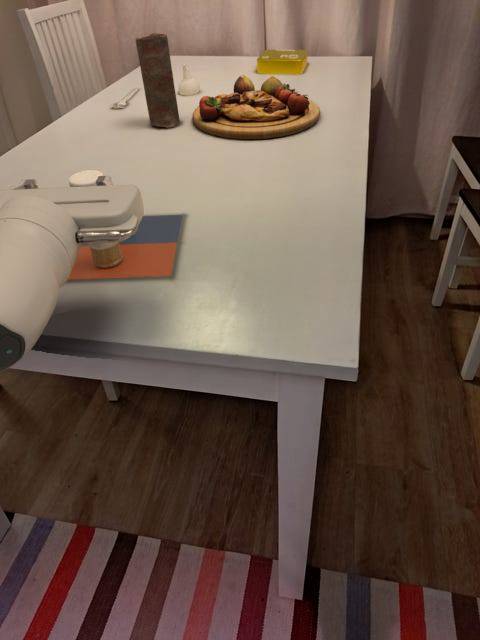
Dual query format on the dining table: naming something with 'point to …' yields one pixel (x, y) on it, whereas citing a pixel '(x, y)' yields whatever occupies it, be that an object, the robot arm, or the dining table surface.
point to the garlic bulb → (188, 84)
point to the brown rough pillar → (158, 80)
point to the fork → (124, 100)
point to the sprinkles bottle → (101, 252)
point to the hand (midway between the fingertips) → (68, 183)
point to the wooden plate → (256, 111)
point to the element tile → (282, 62)
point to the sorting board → (137, 252)
